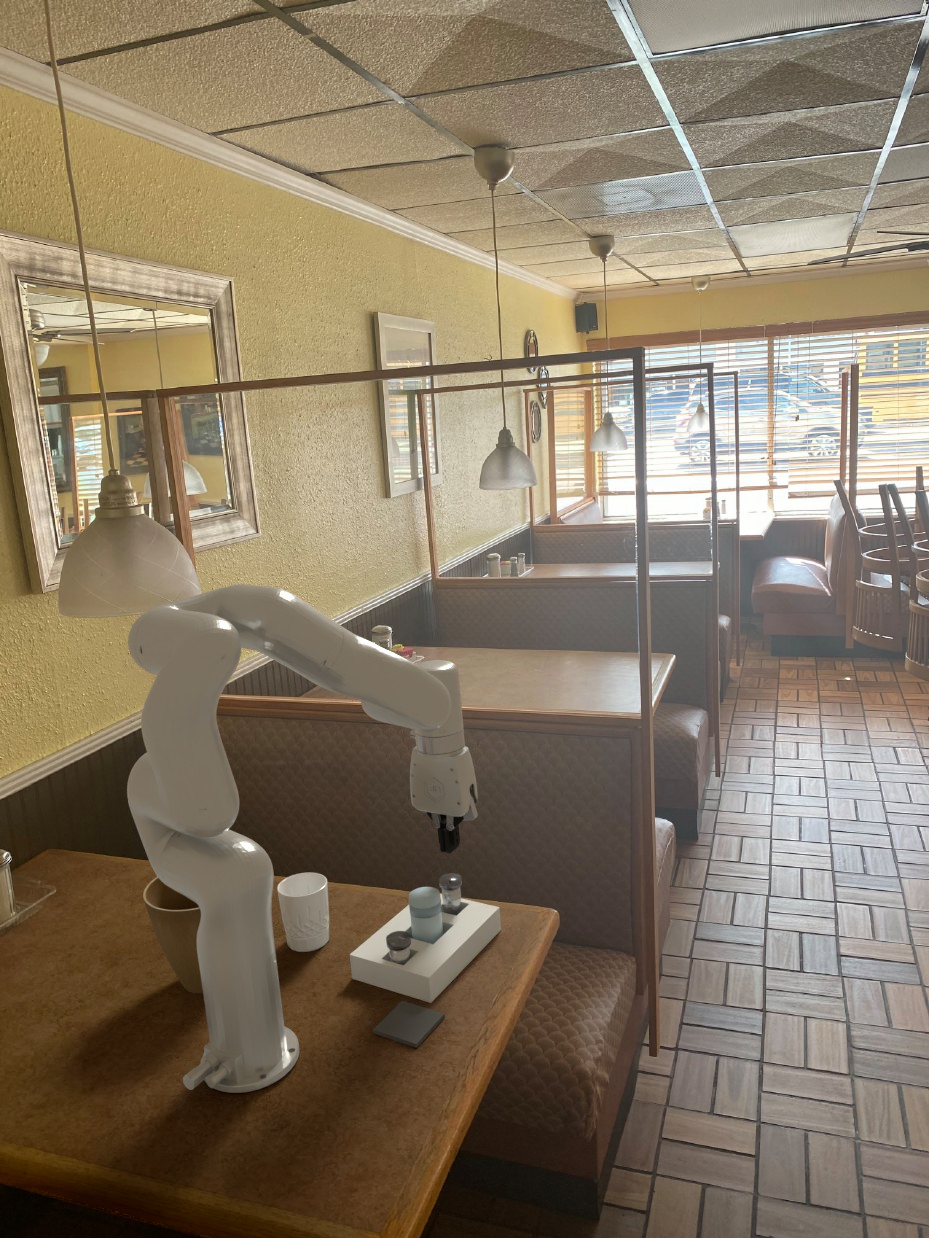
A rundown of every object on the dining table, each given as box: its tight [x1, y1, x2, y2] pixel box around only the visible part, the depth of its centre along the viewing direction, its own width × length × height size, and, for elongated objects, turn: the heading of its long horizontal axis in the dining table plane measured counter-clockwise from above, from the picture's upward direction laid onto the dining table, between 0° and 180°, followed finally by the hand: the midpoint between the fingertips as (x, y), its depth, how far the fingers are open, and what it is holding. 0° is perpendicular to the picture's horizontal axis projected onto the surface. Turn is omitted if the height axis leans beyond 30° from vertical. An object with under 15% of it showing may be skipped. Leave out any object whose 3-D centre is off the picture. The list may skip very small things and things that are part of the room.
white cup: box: [276, 872, 330, 953], centre depth 147 cm, size 8×8×10 cm
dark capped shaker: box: [438, 872, 463, 916], centre depth 147 cm, size 4×4×6 cm
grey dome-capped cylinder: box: [386, 931, 411, 965], centre depth 135 cm, size 4×4×6 cm
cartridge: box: [408, 886, 443, 944], centre depth 141 cm, size 5×5×10 cm
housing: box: [349, 892, 502, 1004], centre depth 142 cm, size 21×14×4 cm, turn 150°
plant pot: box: [142, 875, 203, 994], centre depth 138 cm, size 15×15×16 cm
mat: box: [372, 1000, 445, 1049], centre depth 125 cm, size 7×7×1 cm
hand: (450, 848), depth 146 cm, fingers closed
